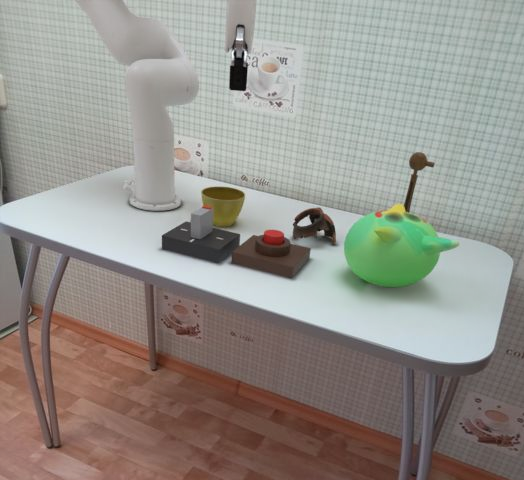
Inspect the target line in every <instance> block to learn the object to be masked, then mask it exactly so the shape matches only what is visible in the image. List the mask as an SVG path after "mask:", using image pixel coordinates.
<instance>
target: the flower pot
mask: <svg viewBox="0 0 524 480" xmlns="http://www.w3.org/2000/svg"><path fill="white" fill-rule="evenodd" d="M200 194H201V201H202V206H204V205H205V206H209V207H212V208H213V225H214V226H216V227H220V228H227V227H228V228H229V227H231V226H232V225H234V224H235V222H236V221H237V219H238V217H239V215H240V214H241V212H242V209H243V206H244V203H245V199H246V193H245V192H244V190H241V189H239V188H238V189H237V188H235V187H230V186H221V185H219V186H209V187H208V186H207V187H205V188H203V189H202V190H201V191H200Z"/></svg>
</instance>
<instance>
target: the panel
mask: <svg viewBox="0 0 524 480" xmlns="http://www.w3.org/2000/svg"><path fill="white" fill-rule="evenodd" d="M240 245H241V233H238V232H233V231H229V230H224V229H220V228H218V227H217V228H216V227H213V230H212V232H211V233H209V234H208V235H206V236H205V237H203V238H202V239H196V238H192V237H191V221H187V220H186V221H184V222H182V223H181V224H178V225H176V226H175V227H174V228H171V229H170V230H168V231H167V232H164V233H163V234H162V235H161V249H162V250H164V251H167V252H173V253H175V254H180V255H183V256H187V257H192V258H195V259H198V260H204V261H206V262H211V263H214V264H221V263H222V262H223V261H224V260H225V259H227V258H228V257H229V256H230V255H232V251H234V250H235V249H236V248H237V247H239V246H240Z"/></svg>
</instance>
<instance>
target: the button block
mask: <svg viewBox="0 0 524 480" xmlns="http://www.w3.org/2000/svg"><path fill="white" fill-rule="evenodd" d="M263 238H264V234H260V235H257V234H252V235H251V236H250V237H249V238H247V239H246V240H244V241H243V242H242V243H240V245H239V247H237V248H236V249H235V250H234V251H232V253H231V258H230V259H231V260H230V261H231V263H230V264H233V265H237V266H240V267H245V268H249V269H253V270H257V271H261V272H264V273H268V274H271V275H276V276H280V277H283V278H287V279H293V278H294V277H295V276H296V275H297V274H298V273H299V271H301V269H302V268H303V267H304V266H305V264H306V263H308V261H309V260H310V256H311V249H312V248H311V247H307V246H304V245H298V244H296V243H295V244H294V243H292V242H291V240H290V239H289V238H287V237H285V236H284V239H283V244H281V245H270V244H266V243H264V242H263Z"/></svg>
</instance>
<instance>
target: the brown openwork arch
mask: <svg viewBox="0 0 524 480" xmlns="http://www.w3.org/2000/svg"><path fill="white" fill-rule="evenodd" d="M305 218H308V219H309V221H310V224H307V225H304V226H303V225H298V224H299V223H300V222H301V221H302V220H304V219H305ZM293 220H294V222H293V223H292V226H293V229H292V237H293V239H294V240H295V239H296V238H299V239H303V238H304V239H306V238H310V237H313V238H316V239H318V233H319V232H321V231H323V236H324V237H325V238H330V239H332V245H333V246H335V245H336V244H337V232H336V228H335V227H336V226H335V224H334V221H333V219H332V218H331V217H330V215H328V214H327V213H325V212H324V211H323V209H322V208H321V207H311V208H307V209H305V210H303V211H301V212H299V214H297V215H296V216H295V217H294V218H293Z"/></svg>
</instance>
